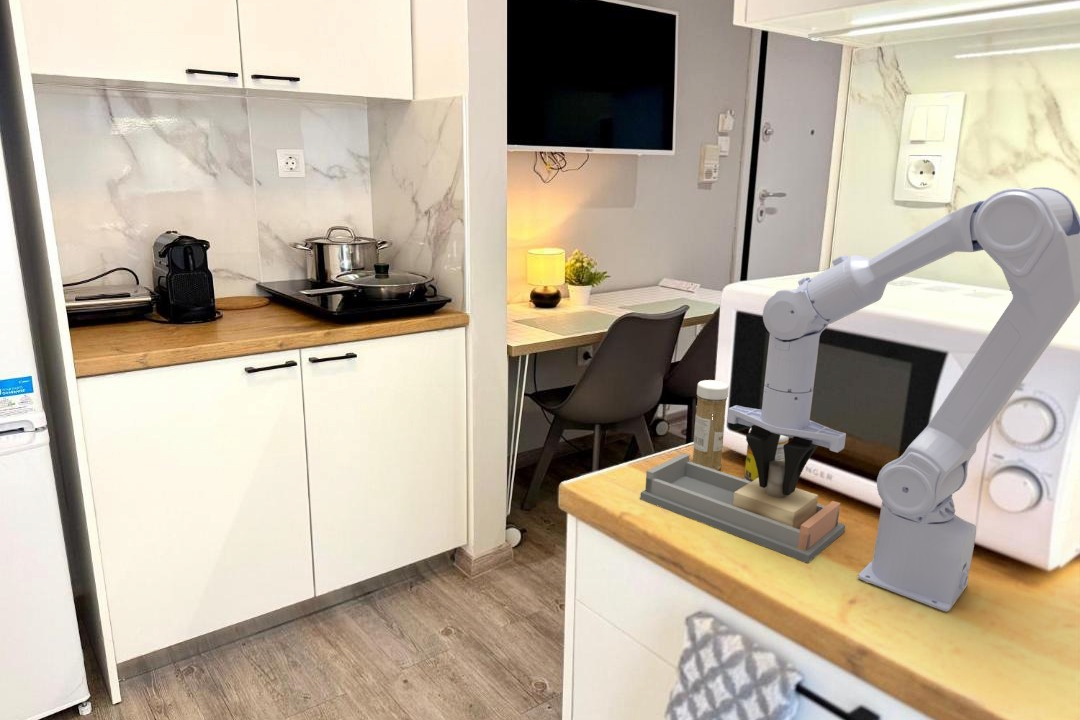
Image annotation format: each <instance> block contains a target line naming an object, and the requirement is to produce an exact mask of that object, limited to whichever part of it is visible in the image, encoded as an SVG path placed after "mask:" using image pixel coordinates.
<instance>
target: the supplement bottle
mask: <svg viewBox="0 0 1080 720" xmlns="http://www.w3.org/2000/svg"><path fill="white" fill-rule="evenodd" d="M750 430H751V427H750V428H749V430H748V433H750ZM789 439H790V437H786V436H783V435H780V439H779V442H778V446H777V451H776V455H775V461H783V462H785V457H784V449H783V447H784V444H786V443H788V442H789ZM757 478H759V477H758V471H757V466H756V462H755V459H754V456H753V453H752V451H751V448H750V446H749V444H748V443H747V447H746V457H745V468H744V479H745V480H748V481H751V482H752V481H754V480H755V479H757Z"/></svg>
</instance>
